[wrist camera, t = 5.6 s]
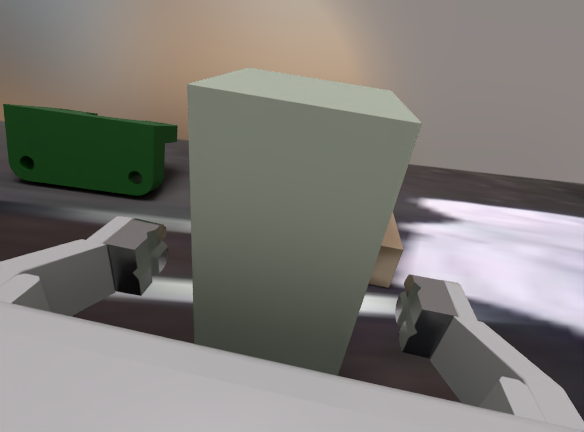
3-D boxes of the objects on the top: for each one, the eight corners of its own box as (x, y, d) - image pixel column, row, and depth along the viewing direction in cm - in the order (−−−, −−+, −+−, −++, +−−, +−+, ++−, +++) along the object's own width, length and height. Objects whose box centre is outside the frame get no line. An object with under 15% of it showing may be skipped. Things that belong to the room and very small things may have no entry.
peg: (196, 421, 12) (187, 83, 6) (232, 328, 16) (248, 67, 10) (313, 448, 12) (421, 123, 6) (321, 347, 16) (390, 90, 10)
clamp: (158, 215, 32) (198, 136, 30) (128, 235, 26) (175, 138, 24) (43, 152, 30) (78, 63, 28) (-16, 158, 25) (22, 47, 22)
